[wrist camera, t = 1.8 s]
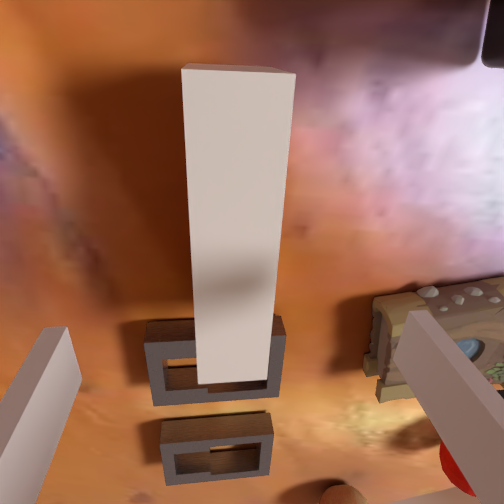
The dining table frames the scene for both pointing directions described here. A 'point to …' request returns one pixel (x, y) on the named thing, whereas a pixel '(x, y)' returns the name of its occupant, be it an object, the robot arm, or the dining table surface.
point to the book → (450, 319)
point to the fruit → (342, 495)
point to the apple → (453, 470)
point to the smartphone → (494, 36)
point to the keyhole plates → (189, 391)
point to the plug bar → (235, 210)
